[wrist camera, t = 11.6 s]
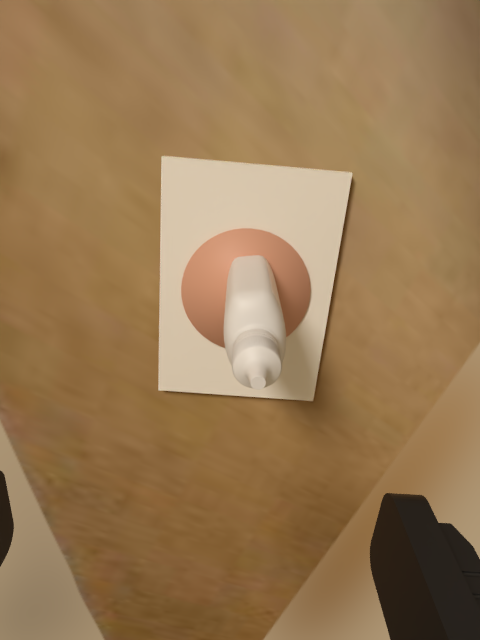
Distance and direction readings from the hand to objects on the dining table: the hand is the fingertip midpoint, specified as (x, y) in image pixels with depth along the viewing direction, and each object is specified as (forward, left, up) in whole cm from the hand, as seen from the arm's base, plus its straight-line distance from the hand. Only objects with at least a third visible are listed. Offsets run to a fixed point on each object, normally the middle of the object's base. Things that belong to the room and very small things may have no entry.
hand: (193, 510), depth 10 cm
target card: (+3, +2, -23) cm, 24 cm away
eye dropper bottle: (+3, +2, -23) cm, 23 cm away
